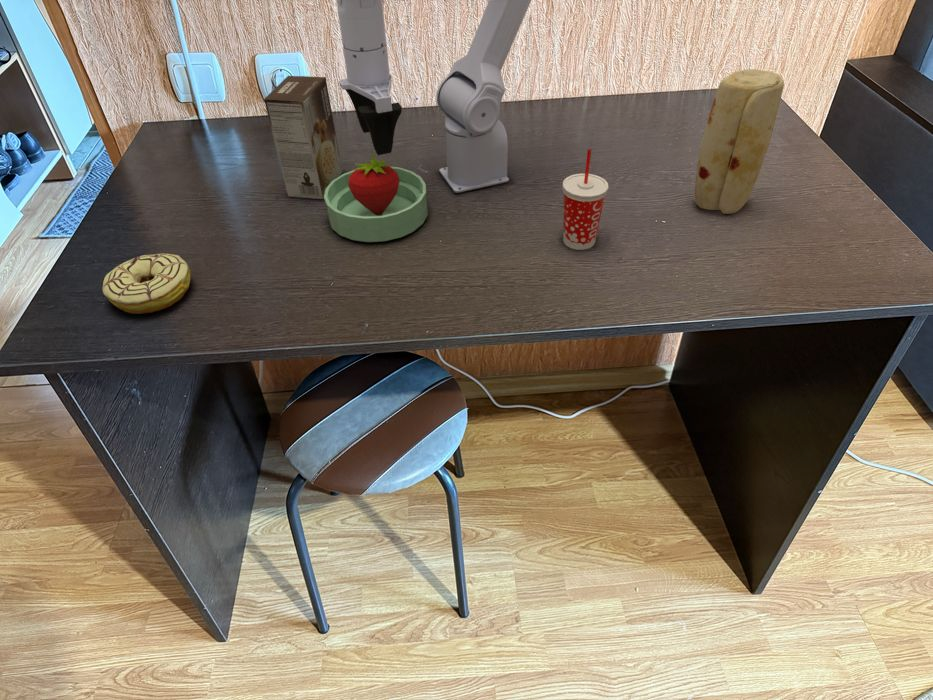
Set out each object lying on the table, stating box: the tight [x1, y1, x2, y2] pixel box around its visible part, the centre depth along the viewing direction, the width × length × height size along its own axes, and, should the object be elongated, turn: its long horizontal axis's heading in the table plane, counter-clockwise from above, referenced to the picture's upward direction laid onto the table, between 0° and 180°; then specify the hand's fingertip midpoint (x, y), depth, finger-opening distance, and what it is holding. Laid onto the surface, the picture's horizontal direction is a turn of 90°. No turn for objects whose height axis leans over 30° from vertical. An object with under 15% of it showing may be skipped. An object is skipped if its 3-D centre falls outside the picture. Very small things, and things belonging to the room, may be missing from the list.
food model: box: [694, 68, 785, 215], centre depth 92 cm, size 10×7×20 cm
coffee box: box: [263, 75, 343, 200], centre depth 101 cm, size 9×6×16 cm
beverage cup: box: [562, 148, 609, 251], centre depth 89 cm, size 6×6×14 cm
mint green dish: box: [323, 166, 429, 243], centre depth 98 cm, size 15×15×4 cm
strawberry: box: [348, 149, 400, 215], centre depth 95 cm, size 6×8×10 cm
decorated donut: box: [102, 253, 192, 315], centre depth 85 cm, size 10×11×4 cm
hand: (376, 141), depth 95 cm, fingers open, 7 cm apart
